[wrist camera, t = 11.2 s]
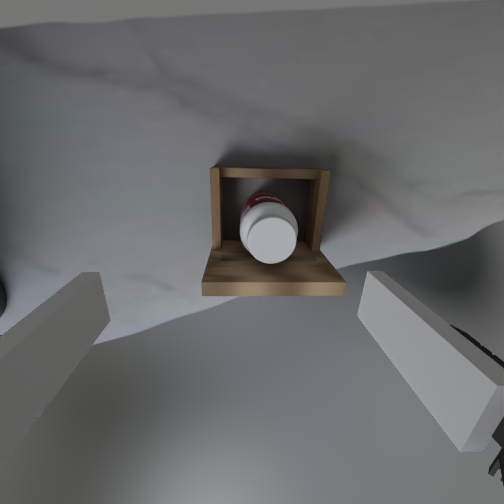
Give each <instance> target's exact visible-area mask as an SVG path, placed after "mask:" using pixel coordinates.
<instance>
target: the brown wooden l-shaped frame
mask: <svg viewBox="0 0 504 504" xmlns="http://www.w3.org/2000/svg"><path fill="white" fill-rule="evenodd" d="M222 177H243V178H287V179H311V183H310V192H309V201H308V210H307V219H306V227H305V236H304V241H296V246H295V248H294V250H293V252H292V253H291V255H290V256H289V257H288V258H286V259H285V260H283V261H281V262H278V263H273V264H269V263H264V262H261V261H259V260H257V259H256V258H255V257H254V256H253V255H252V254H251V253H250V252H249V251H248V250H247V249H246V248H245V247H244V245H243V243H242V241H229V240H223V214H222ZM329 178H330V171H328V170H322V169H300V168H261V167H221V166H213V167H211V168H210V186H211V213H212V240H213V246H212V249H211V252H210V256H209V259H208V262H207V266H206V269H205V272H204V276H203V279H202V282H201V283H202V296H344V293H345V288H346V283H347V282H346V281H345V280H344V279H343V277H342V276H341V275H340V274H339V273H338V271H337V270H336V269H335V268H334V267H333V265H332V264H331V263H330V262H329V261H328V259H327V258H326V257H325V256H324V254H323V253H322V252H321V251H320V243H321V236H322V229H323V222H324V214H325V207H326V200H327V193H328V186H329Z"/></svg>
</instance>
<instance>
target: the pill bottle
mask: <svg viewBox="0 0 504 504" xmlns="http://www.w3.org/2000/svg"><path fill="white" fill-rule="evenodd" d="M297 234H298V226H297V222H296V219H295V217H294V215H293V214H292V212H291V211H290V210H289V209H288V208H287V207H286V206H285V205H284V203H283V202H282V201H281V200H280V199H279V198H278V197H276V196H275V195H273V194H270V193H258V194H255V195H253V196H251V197H250V198H249V199H247V200H246V202H245V203H244V205H243V207H242V209H241V213H240V237H241V241H242V243H243V245H244V247H245V248H246V249H247V250H248V251H249V252H250V253H251V254H252V255H253V256H254V257H255V258H256V259H257V260H259V261H261V262H264V263H269V264H273V263H278V262H281V261H283V260H285V259H286V258H288V257H289V256H290V255H291V253H292V252H293V250H294V248H295V246H296V240H297V239H296V238H297Z"/></svg>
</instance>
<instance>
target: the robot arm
mask: <svg viewBox="0 0 504 504" xmlns="http://www.w3.org/2000/svg"><path fill="white" fill-rule="evenodd" d="M5 303H6V298H5V292H4V289H3V286H2V284H1V282H0V316H1V315H2V313H3V311H4V308H5ZM357 316H358V318H359V319H360V320H361V322H362V323H363V324H364V326H365V327H366V328H367V329H368V331H369V332H370V333H371V335H372V336H373V337H374V339H375V340H376V341H377V343H378V344H379V345H380V347H381V348H382V349H383V351H384V352H385V353H386V354H387V356H388V357H389V358H390V360H391V361H392V362H393V364H394V365H395V367H396V368H397V369H398V370H399V372H400V373H401V374H402V376H403V377H404V378H405V380H406V381H407V382H408V384H409V385H410V386H411V388H412V389H413V390H414V392H415V393H416V394H417V396H418V397H419V398H420V399H421V401H422V402H423V403H424V405H425V406H426V407H427V409H428V410H429V411H430V413H431V414H432V415H433V417H434V418H435V419H436V421H437V422H438V423H439V425H440V426H441V427H442V428H443V430H444V431H445V433H446V434H447V435H448V436H449V438H450V439H451V440H452V442H453V443H454V445H455V446H456V447H457V448H458V450H459V451H460V452H467V451H483V450H484V449H485V448H486V446H487V444H488V443H489V441H490V440H491V438H492V437H493V438H494V440H495V441H496V442H497V443H498V444H499V445H500V446H501V447H502V449H501V451H500V452H499V454H498V455H497V457H496V458H495V460H494V461H493V463H492V464H491V466H490V467H489V472H488V474H490V475H492V476H494V475H495V473H496V471H497V470H498V469H501V474H502V478H501V481H502V482H503V485H504V362H503V361H502V360H501V359H499V358H498V357H497V356H496V355H492V352H490V351H489V350H488V349H487V348H485V347H484V346H481V345H480V343H479V342H477V341H476V340H475V339H474V338H472V337H471V336H470V335H468V334H467V333H465V332H464V331H462V330H460V329H458V328H456V327H454V326H452V325H449V324H448V323H446V322H445V321H444V320H443V319H441V318H440V317H439V316H438V315H436V314H435V313H434V312H433V311H431V310H430V309H429V308H428V307H426V306H425V305H424V304H422V303H421V302H420V301H419V300H418V299H416V298H415V297H414V296H412V295H411V294H410V293H409V292H407V291H406V290H405V289H404V288H402V287H401V286H400V285H399V284H397V283H396V282H395V281H394V280H392V279H391V278H390V277H389V276H387V275H386V274H385V273H384V272H382V271H368V272H367V276H366V280H365V284H364V289H363V293H362V297H361V302H360V306H359V310H358V315H357ZM109 321H110V316H109V312H108V308H107V303H106V299H105V295H104V290H103V286H102V281H101V277H100V273H99V272H82V273H81V274H79V275H78V276H77V277H76V278H74V279H73V280H72V281H70V282H69V283H68V284H67V285H65V286H64V287H63V288H62V289H60V290H59V291H58V292H56V293H55V294H54V295H53V296H51V297H50V298H49V299H47V300H46V301H45V302H44V303H42V304H41V305H40V306H39V307H37V308H36V309H35V310H33V311H32V312H31V313H30V314H28V315H27V316H26V317H25V318H23V319H22V320H21V321H19V322H18V323H17V324H16V325H14V326H13V327H12V328H11V329H9V330H8V331H7V332H5V333H4V334H3V335H0V468H1V467H2V466H3V464H4V463H5V462H6V460H7V459H8V458H9V456H10V455H11V454H12V452H13V451H14V450H15V448H16V447H17V446H18V444H19V443H20V442H21V440H22V439H23V437H24V436H25V435H26V433H27V432H28V431H29V429H30V428H31V427H32V425H33V424H34V423H35V421H36V420H37V419H38V417H39V416H40V414H41V413H42V412H43V410H44V409H45V408H46V406H47V405H48V404H49V402H50V401H51V400H52V398H53V397H54V396H55V394H56V393H57V392H58V390H59V389H60V388H61V386H62V385H63V384H64V382H65V381H66V379H67V378H68V377H69V375H70V374H71V373H72V371H73V370H74V369H75V367H76V366H77V364H78V363H79V362H80V361H81V359H82V358H83V357H84V355H85V354H86V352H87V351H88V350H89V348H90V347H91V346H92V344H93V343H94V342H95V340H96V339H97V338H98V336H99V335H100V334H101V332H102V331H103V330H104V328H105V327H106V325H107V324H108V323H109Z"/></svg>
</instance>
